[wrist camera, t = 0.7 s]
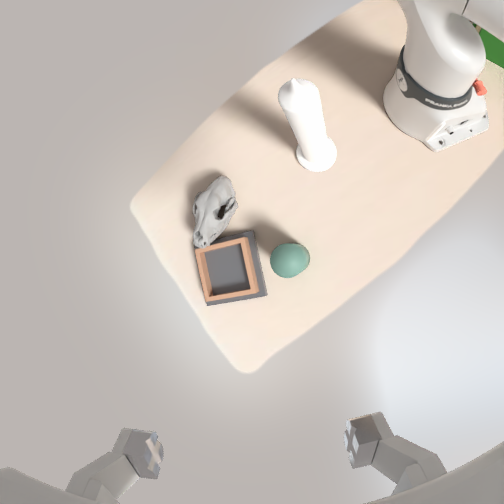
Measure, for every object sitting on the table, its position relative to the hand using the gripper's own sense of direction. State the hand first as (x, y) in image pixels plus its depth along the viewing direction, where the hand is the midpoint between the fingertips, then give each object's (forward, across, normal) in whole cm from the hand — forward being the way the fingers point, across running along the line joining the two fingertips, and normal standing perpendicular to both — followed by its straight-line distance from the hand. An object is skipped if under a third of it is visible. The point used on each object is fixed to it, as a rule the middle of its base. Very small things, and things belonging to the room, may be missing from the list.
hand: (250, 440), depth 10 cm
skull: (+46, +5, -5) cm, 47 cm away
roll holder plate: (+43, +4, +5) cm, 44 cm away
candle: (+43, -13, -14) cm, 47 cm away
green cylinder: (+40, -8, +3) cm, 41 cm away
